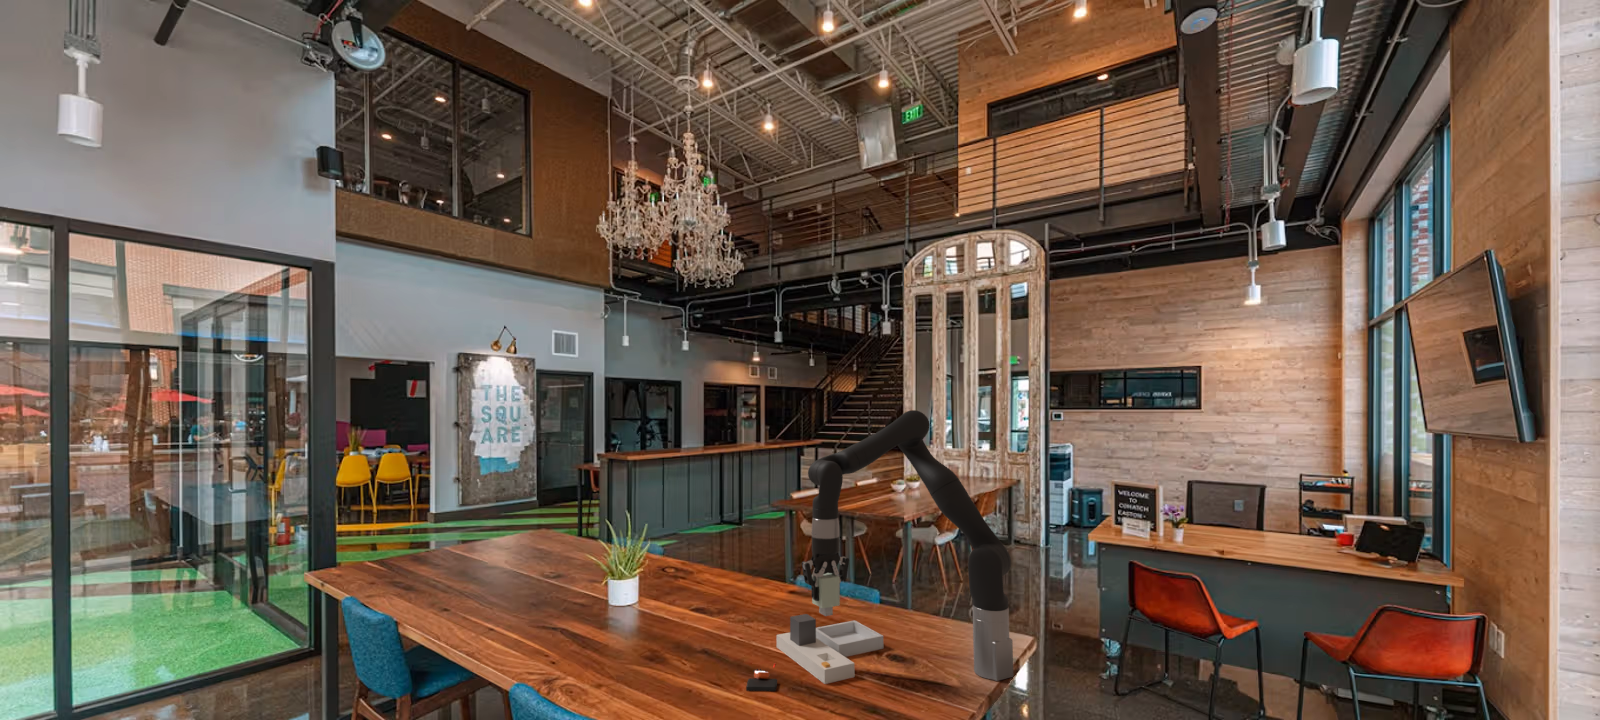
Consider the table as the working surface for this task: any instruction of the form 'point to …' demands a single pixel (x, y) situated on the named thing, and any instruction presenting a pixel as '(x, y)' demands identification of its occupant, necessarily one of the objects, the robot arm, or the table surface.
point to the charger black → (802, 629)
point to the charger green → (828, 594)
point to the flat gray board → (817, 659)
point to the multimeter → (761, 682)
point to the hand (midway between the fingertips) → (825, 598)
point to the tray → (850, 638)
